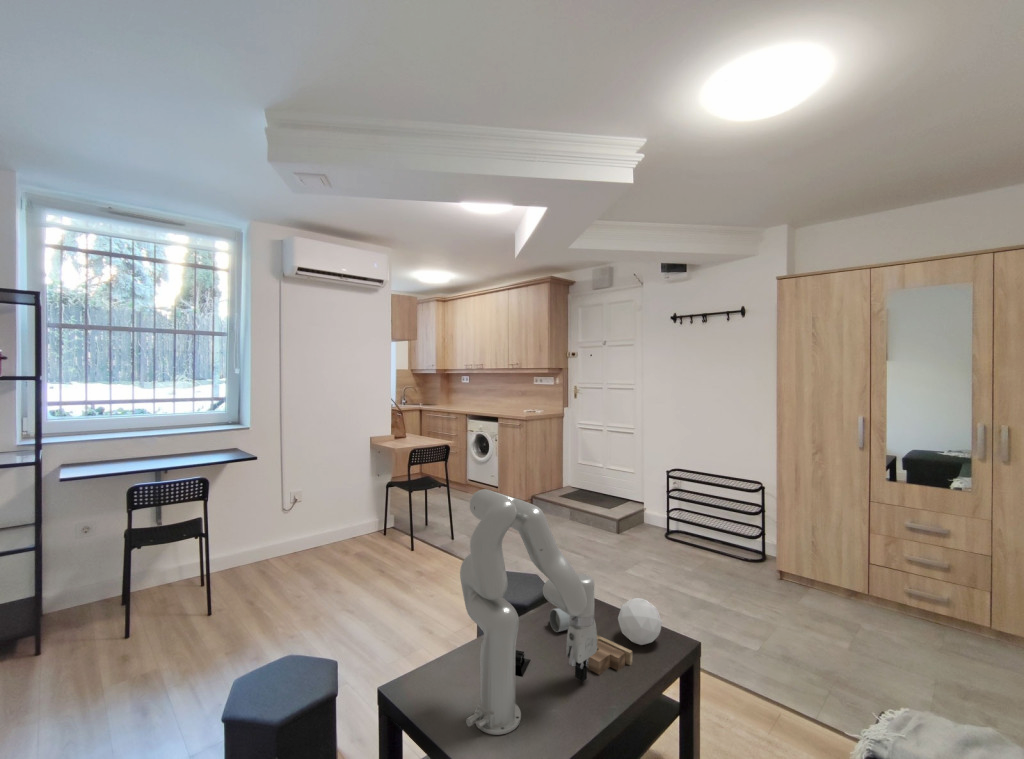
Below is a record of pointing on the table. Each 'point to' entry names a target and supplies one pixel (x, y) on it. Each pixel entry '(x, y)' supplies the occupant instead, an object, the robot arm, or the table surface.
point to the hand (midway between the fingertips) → (580, 678)
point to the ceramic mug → (559, 620)
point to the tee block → (606, 658)
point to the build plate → (520, 663)
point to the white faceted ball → (639, 621)
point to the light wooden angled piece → (627, 652)
